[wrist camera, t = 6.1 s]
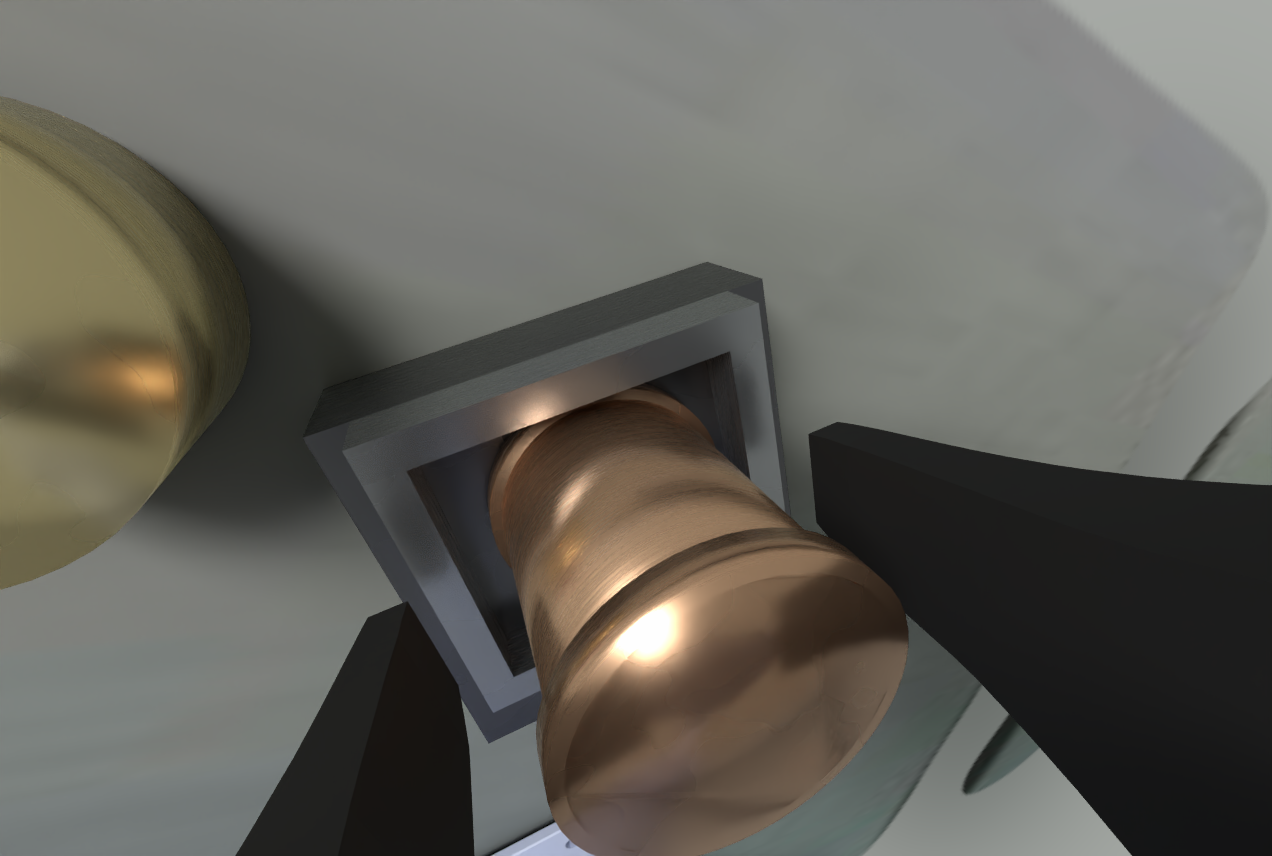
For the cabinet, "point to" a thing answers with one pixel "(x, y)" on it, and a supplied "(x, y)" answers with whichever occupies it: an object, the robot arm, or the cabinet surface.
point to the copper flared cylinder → (682, 631)
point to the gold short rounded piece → (100, 336)
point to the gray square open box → (513, 399)
